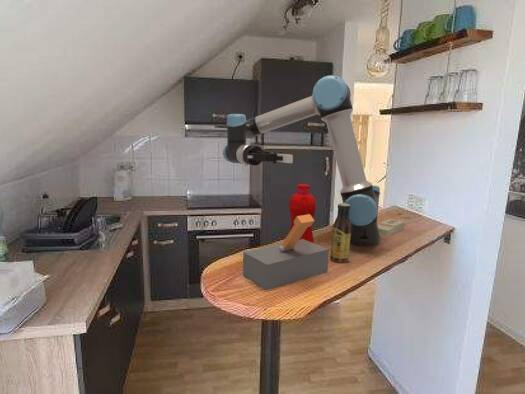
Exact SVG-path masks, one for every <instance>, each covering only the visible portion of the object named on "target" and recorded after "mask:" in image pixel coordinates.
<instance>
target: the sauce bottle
mask: <svg viewBox="0 0 525 394" xmlns="http://www.w3.org/2000/svg"><path fill="white" fill-rule="evenodd" d="M349 210H350V204H346V203H343V202H339V203H338V204H337V214H336V218H335V220H334V222H333V225H332V230H331V238H330V242H331V243H330V249H329V251H330V252H329V254H330V255H329V257H330V260H331V261H333V262H335V263H345V262H347V261H348V260H349V253H350V245H351V243H350V236H351V222H350V220H349Z"/></svg>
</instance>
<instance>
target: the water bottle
mask: <svg viewBox="0 0 525 394" xmlns="http://www.w3.org/2000/svg"><path fill="white" fill-rule="evenodd" d="M316 207H317V205H316V199H315V198H314V196H313V194H311V193H310V185H309V184H305V183H304V184H302V183H301V184H297V185H296V192H295V193H294V194H292V195H291V196H290V198H289V203H288V208H289V214H290V220H291V221H290V222H291V223H290V227H289V228H290V229H289V232H288V234H289V233H290V231H291V229H292V228H293V226H294V225H295V224H294V220H295V218H296V217H297V216H302V215H308V214H310V215H311V216H312V218H313V219H314V216H315V213H316V209H317V208H316ZM312 226H313V225H312ZM312 226H310V227H307V229H306V230H305V232H304V233H303V235H302V236H301V238H300V239H299V240H301V239H304V240H307V241H309V242H312V243H314V244H315V240H314V234H313V228H312Z"/></svg>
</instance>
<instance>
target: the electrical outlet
mask: <svg viewBox="0 0 525 394" xmlns="http://www.w3.org/2000/svg"><path fill="white" fill-rule="evenodd" d="M405 223H406V222H405V221H404V220H397V219H394V218H388V219H386V220H383V221H381V222H379V224H377V226H378V230H379V235H380V236H381V235H382V237H385V236H386V237H387V238H388V237H390V236H392V235H395V234H398V232H401V231H403V230H405Z"/></svg>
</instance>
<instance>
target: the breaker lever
mask: <svg viewBox="0 0 525 394" xmlns="http://www.w3.org/2000/svg"><path fill="white" fill-rule="evenodd" d="M314 223H315V219H314V217H313V218H312V216H311V215H310V214H308V215H302V216H297V217H296V218H295V220H294V224H295V225H294V226H293V228H292V229H291V231H290V230H289V231H290V233H289V232H288V234H287V235H286V237H285V239H284V240H283V242H282V243H283V244H282V243H281V244H282V245H281V246H279V251H280V252H283V251H287V250H291V249H295V245H296V244H297V242H298V241H299V239H300V238H301V236H302V235H303V233H304V232H305V230H306V229H307V227H310V226H313V224H314Z"/></svg>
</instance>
